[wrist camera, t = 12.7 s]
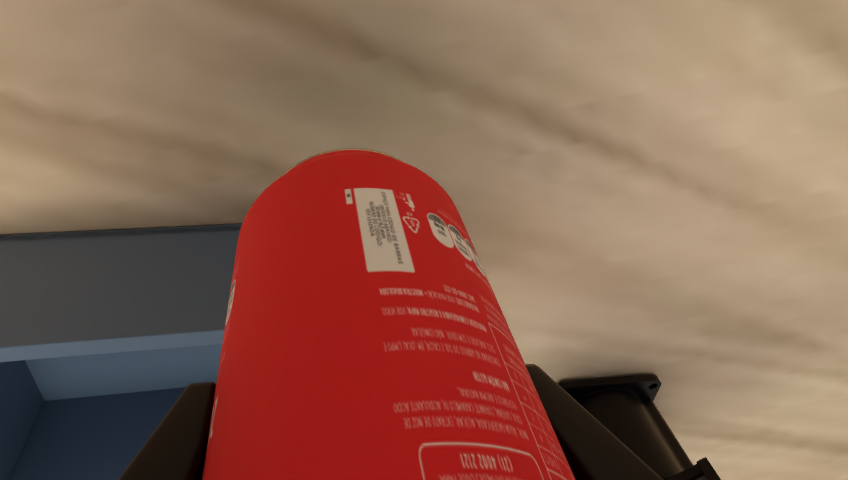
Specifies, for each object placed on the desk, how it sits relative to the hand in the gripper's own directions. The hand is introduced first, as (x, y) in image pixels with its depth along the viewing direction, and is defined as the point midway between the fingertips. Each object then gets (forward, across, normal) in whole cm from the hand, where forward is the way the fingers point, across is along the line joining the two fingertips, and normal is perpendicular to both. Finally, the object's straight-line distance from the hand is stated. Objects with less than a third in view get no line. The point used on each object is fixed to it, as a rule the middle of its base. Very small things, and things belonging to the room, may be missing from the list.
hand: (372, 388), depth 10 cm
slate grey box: (+10, +7, +5) cm, 13 cm away
